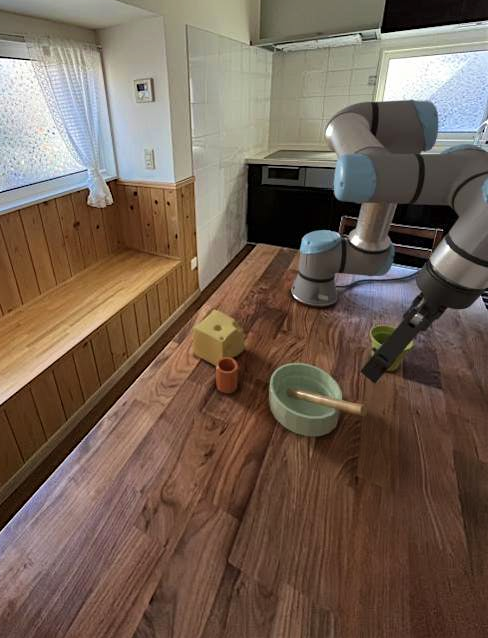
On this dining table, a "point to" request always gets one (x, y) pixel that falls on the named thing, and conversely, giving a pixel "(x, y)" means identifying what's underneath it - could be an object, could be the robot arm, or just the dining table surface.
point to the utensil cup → (227, 375)
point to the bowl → (298, 412)
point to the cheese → (217, 337)
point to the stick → (327, 401)
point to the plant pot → (381, 335)
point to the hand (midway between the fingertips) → (386, 355)
